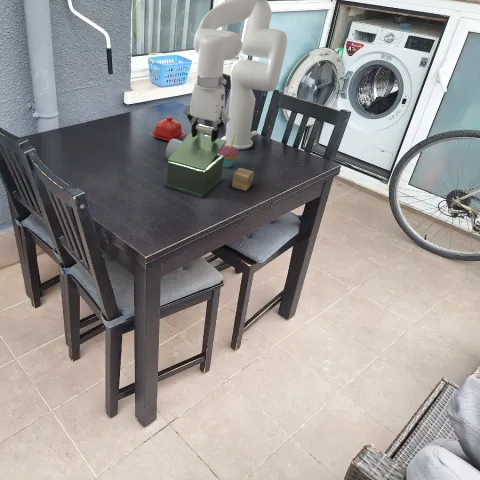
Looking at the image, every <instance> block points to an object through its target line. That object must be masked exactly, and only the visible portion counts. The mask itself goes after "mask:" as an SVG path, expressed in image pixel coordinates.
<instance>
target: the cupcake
mask: <svg viewBox="0 0 480 480" xmlns="http://www.w3.org/2000/svg"><path fill="white" fill-rule="evenodd" d="M234 138H235V135H234V136H233V138H232V141H231V145H224V146H223V147H222V149H221V150H220V152H219V153H218V154H219V155H223V156H224V162H223V168H231V167H232V166H233V164H234V162H235V160H236V159H238V158H239V155H240V151H239V149H236V148H235V147H233V146H232V145H233V141H234Z"/></svg>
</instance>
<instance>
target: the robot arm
mask: <svg viewBox="0 0 480 480" xmlns="http://www.w3.org/2000/svg"><path fill="white" fill-rule="evenodd" d="M272 12H273V11H272V8H271V4H270V3H269V1H268V0H224V1H222V2H221V3H219V4H217V5H216V6H214V7H213V8H212V9H210V10H209V11H208V12H207V13H206V14H205V15H204V16H203V18H202V19H201V21H200V23H199V25H198V28H197V29H196V32H195V35H194V38H193V49H194V51H195V53H196V54H197V55H198V56H197V71H196V82H195V83H194V85H193V89H192V93H191V97H190V104H189V105H188V106H187V107H185V108H184V109H183V113H184V114H185V116H186V118H187V120H188V121H189V123H190V126H191V128H190V132H191V133H192V137H195V136H196V135H197V130H195V127H196V125H197V124H200V123H199V119H201V120H206V121H210V122H211V124H212V127H213V128H214V129H213V130H212V135H211V134H210V136H211V142H214V141H215V140H216V139H218V138H219V133H220V128H222V127H223V126H225V125H226V129H225V135H224V136H222V137H221V138H220V139H223V140H226V143H225V145H231V141H232V138H233V136H234V135H235V138H234V141H233V145H232V146H233V147H235V148H236V149H237V150H247V149H250V148H252V147H253V144H254V142H253V140H252V138H253V137H256V136H258V134H259V133H258V131H257V130H253V131H252V125H253V118H254V113H255V105H256V97H255V94H254V91H262V92H267V93H269V92H273V91H275V90H276V89H277V87H278V84H279V81H280V77H281V72H282V68H283V65H284V61H285V60H284V59H285V55H286V51H287V46H288V36H287V33H286V32H285V31H283V30H281V29H276V28H275V29H274V28H270V24H271V20H272V14H273V13H272ZM244 20H245V21H244ZM243 21H244V26H243V32H242V36H241V35H240V34H239V33H237V32H235V31H229V30H223V29H220V28H222V27H225V26H229V25H232V24H236V23H240V22H243ZM240 53H242V54H243V55H245V56H248V57H255V58H262V59H267V60H268V62H266V61H265V62H264V61H259V60H252V59H238V60H236V61H235V62H234V63H233V64H232V66H231V69H230V96H229V105H228V112H226V111H225V110H226V109H225V108H226V91H225V85H227V79H225V78H224V75H223V74H224V65H225V61H228V60H229V61H230V60H234V59H235V58H237V56H239V54H240ZM253 90H254V91H253ZM221 118H222V121H221V120H220V119H221Z"/></svg>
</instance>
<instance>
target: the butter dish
mask: <svg viewBox="0 0 480 480" xmlns="http://www.w3.org/2000/svg"><path fill="white" fill-rule="evenodd" d="M182 130H183V127H182V124H181V122H179V121H177V120H175V119H173V117H172V116H170V115H169V116H166V117H165V119H162V120H160V121H159V122H157V124H156V125H155V128H154V131H153V132H151V133H150V134H149V135H150V136H151V137H154V138H157V139H159V140H164V141H167V142H170V141H171V140H172V139H177V140H180V139H182V137H184V136H186V135H187V133H186V132H184V131H182Z"/></svg>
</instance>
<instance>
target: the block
mask: <svg viewBox="0 0 480 480" xmlns="http://www.w3.org/2000/svg"><path fill="white" fill-rule="evenodd" d="M254 174H255V173H254V171H253V170H249V169H246V168H242V167H239V168H237V169H236V170H235V171H234V172H233V176H232V181H231V188H234V189H238V190H241V191H245V192H246V191H248V190H249V189H250V187H251V186H252V184H253V178H254Z"/></svg>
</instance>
